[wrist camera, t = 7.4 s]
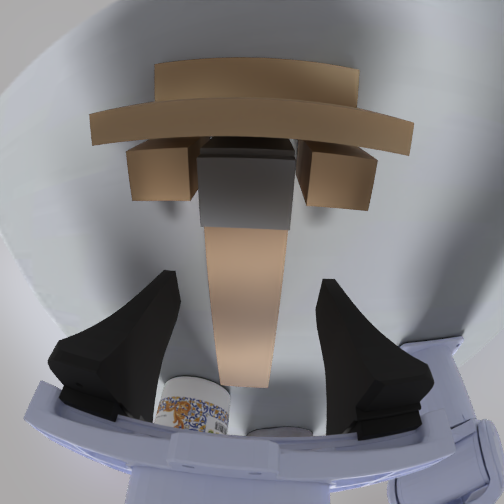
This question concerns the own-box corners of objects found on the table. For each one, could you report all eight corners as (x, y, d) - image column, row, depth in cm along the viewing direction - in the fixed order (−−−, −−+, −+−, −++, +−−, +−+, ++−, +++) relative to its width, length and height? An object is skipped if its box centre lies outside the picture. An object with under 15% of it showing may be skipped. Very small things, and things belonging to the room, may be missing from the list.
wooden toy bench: (344, 178, 13) (389, 237, 8) (163, 171, 13) (106, 224, 8) (355, 70, 10) (419, 61, 5) (159, 64, 10) (87, 55, 5)
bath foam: (191, 366, 23) (155, 576, 6) (245, 395, 25) (231, 576, 8) (153, 383, 25) (114, 550, 8) (202, 409, 28) (181, 560, 11)
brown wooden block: (268, 335, 20) (267, 394, 15) (227, 333, 20) (219, 391, 15) (285, 131, 12) (296, 154, 8) (221, 129, 12) (196, 151, 8)
